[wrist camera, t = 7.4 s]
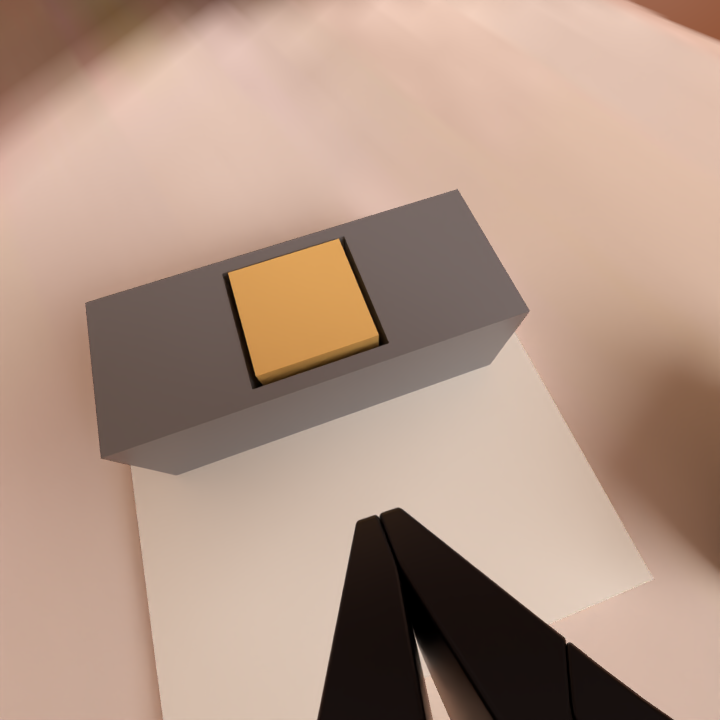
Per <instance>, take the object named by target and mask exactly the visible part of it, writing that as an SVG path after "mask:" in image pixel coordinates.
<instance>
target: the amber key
mask: <svg viewBox="0 0 720 720" xmlns="http://www.w3.org/2000/svg"><path fill="white" fill-rule="evenodd" d="M228 275H229V278H230V282H231V286H232V290H233V293H234V297H235V301H236V304H237V308H238V312H239V316H240V319H241V323H242V327H243V330H244V334H245V338H246V342H247V345H248V349H249V353H250V356H251V360H252V364H253V368H254V371H255V375H256V377H257V378H258V380H259V381H260V382H261V383H262V384H263V386H265V385H267V384H270V383H273V382H276V381H279V380H282V379H285V378H288V377H291V376H294V375H297V374H300V373H303V372H306V371H309V370H312V369H315V368H318V367H321V366H323V365H326V364H329V363H332V362H335V361H338V360H341V359H344V358H347V357H350V356H353V355H356V354H359V353H362V352H365V351H368V350H371V349H374V348H376V347H379V334H378V332H377V329H376V327H375V325H374V322H373V320H372V317H371V315H370V312H369V310H368V308H367V305H366V303H365V300H364V298H363V296H362V293H361V291H360V288H359V286H358V284H357V281H356V279H355V276H354V274H353V271H352V269H351V267H350V264H349V262H348V259H347V257H346V255H345V252H344V250H343V247H342V245H341V242H340V240H339V239H336V240H333V241H329V242H326V243H323V244H320V245H316V246H313V247H310V248H307V249H303V250H300V251H297V252H294V253H290V254H287V255H284V256H281V257H278V258H274V259H271V260H268V261H265V262H261V263H258V264H255V265H252V266H248V267H245V268H242V269H239V270H235V271H232V272H229V273H228Z"/></svg>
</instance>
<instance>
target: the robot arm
mask: <svg viewBox="0 0 720 720" xmlns="http://www.w3.org/2000/svg"><path fill="white" fill-rule="evenodd" d="M415 638H416V639H415ZM416 641H417V644H418V646H419V649H420V651H421V654H422V656H423V659H424V661H425V663H426V665H427V668H428V670H429V672H430V674H431V677H432V679H433V681H434V684H435V686H436V688H437V690H438V693H439V695H440V697H441V699H442V702H443V704H444V706H445V708H446V711H447V713H448V715H449V717H450V720H674V719H672V718H671V717H669V716H668V715H666V714H665V713H663V712H662V711H661V710H659V709H658V708H656V707H655V706H653V705H652V704H650V703H649V702H648V701H646V700H645V699H643V698H642V697H641V696H639V695H638V694H637V693H635V692H634V691H633V690H631V689H630V688H629V687H628V686H626V685H625V684H624V683H622V682H621V681H620V680H618V679H617V678H616V677H614V676H613V675H612V674H610V673H609V672H608V671H606V670H605V669H604V668H602V667H601V666H600V665H598V664H597V663H596V662H595V661H593V660H592V659H591V658H590V657H588V656H587V655H586V654H585V653H583V652H582V651H581V650H580V649H578V648H577V647H576V646H575V645H573V644H572V643H570V642H569V643H567V645H566V640H565V638H564V637H563V636H562V635H561V634H559V633H558V632H557V631H555V630H554V629H553V628H552V627H550V626H549V625H548V624H547V623H545V622H544V621H543V620H542V619H540V618H539V617H538V616H537V615H535V614H534V613H533V612H532V611H530V610H529V609H528V608H527V607H525V606H524V605H523V604H521V603H520V602H519V601H518V600H516V599H515V598H514V597H513V596H511V595H510V594H509V593H508V592H506V591H505V590H504V589H503V588H501V587H500V586H499V585H498V584H496V583H495V582H494V581H493V580H491V579H490V578H489V577H488V576H486V575H485V574H484V573H482V572H481V571H480V570H479V569H477V568H476V567H475V566H474V565H472V564H471V563H470V562H469V561H467V560H466V559H465V558H464V557H462V556H461V555H460V554H459V553H457V552H456V551H455V550H454V549H452V548H451V547H450V546H448V545H447V544H446V543H445V542H443V541H442V540H441V539H440V538H438V537H437V536H436V535H435V534H433V533H432V532H431V531H430V530H428V529H427V528H426V527H425V526H423V525H422V524H421V523H420V522H418V521H417V520H416V519H415V518H413V517H412V516H411V515H409V514H408V513H407V512H406V511H404V510H403V509H402V508H399V507H397V508H394V509H391V510H388V511H385V512H382V513H381V514H380V516H379V517H378V516H377V515H372V516H369V517H366V518H363V519H360V520H358V521H357V522H356V525H355V530H354V535H353V540H352V545H351V550H350V555H349V560H348V565H347V570H346V575H345V580H344V586H343V591H342V596H341V601H340V606H339V611H338V616H337V621H336V626H335V631H334V636H333V641H332V646H331V651H330V656H329V661H328V666H327V672H326V677H325V682H324V687H323V692H322V697H321V702H320V707H319V712H318V717H317V720H433V718H432V713H431V708H430V704H429V699H428V694H427V689H426V684H425V679H424V675H423V670H422V665H421V661H420V656H419V652H418V648H417V644H416Z"/></svg>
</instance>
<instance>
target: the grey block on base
mask: <svg viewBox="0 0 720 720" xmlns="http://www.w3.org/2000/svg"><path fill="white" fill-rule="evenodd" d="M336 239H339V240H340V242H341V245H342V247H343V250H344V252H345V255H346V257H347V259H348V262H349V264H350V267H351V269H352V271H353V274H354V276H355V279H356V281H357V284H358V286H359V288H360V291H361V293H362V296H363V298H364V300H365V303H366V305H367V308H368V310H369V312H370V315H371V317H372V320H373V322H374V325H375V327H376V329H377V332H378V334H379V347H376V348H374V349H371V350H368V351H365V352H362V353H359V354H356V355H353V356H350V357H347V358H344V359H341V360H338V361H335V362H332V363H329V364H326V365H323V366H321V367H318V368H315V369H312V370H309V371H306V372H303V373H300V374H297V375H294V376H291V377H288V378H285V379H282V380H279V381H276V382H273V383H270V384H267V385H265V386H263V384H262V383H261V382H260V381H259V380H258V378H257V377H256V375H255V371H254V368H253V364H252V360H251V356H250V353H249V349H248V345H247V342H246V338H245V334H244V330H243V327H242V323H241V319H240V316H239V312H238V308H237V304H236V301H235V297H234V293H233V290H232V286H231V282H230V278H229V275H228V273H229V272H232V271H235V270H239V269H242V268H245V267H248V266H252V265H255V264H258V263H261V262H265V261H268V260H271V259H274V258H278V257H281V256H284V255H287V254H290V253H294V252H297V251H300V250H303V249H307V248H310V247H313V246H316V245H320V244H323V243H326V242H329V241H333V240H336ZM85 304H86V314H87V324H88V334H89V344H90V354H91V364H92V374H93V384H94V394H95V403H96V413H97V423H98V433H99V443H100V453H101V459H106V460H110V461H115V462H119V463H123V464H128V465H130V466H131V474H132V482H133V490H134V497H135V505H136V513H137V521H138V529H139V536H140V544H141V552H142V560H143V568H144V576H145V583H146V591H147V599H148V607H149V615H150V622H151V630H152V638H153V646H154V654H155V661H156V669H157V677H158V685H159V693H160V701H161V708H162V716H163V720H317V717H318V712H319V707H320V702H321V697H322V692H323V687H324V682H325V677H326V672H327V666H328V661H329V656H330V651H331V646H332V641H333V636H334V631H335V626H336V621H337V616H338V611H339V606H340V601H341V596H342V591H343V586H344V580H345V575H346V570H347V565H348V560H349V555H350V550H351V545H352V540H353V535H354V530H355V525H356V522H357V521H358V520H360V519H363V518H366V517H369V516H372V515H377V516H378V517H379V516H380V514H381V513H382V512H385V511H388V510H391V509H394V508H397V507H399V508H402V509H403V510H404V511H406V512H407V513H408V514H409V515H411V516H412V517H413V518H415V519H416V520H417V521H418V522H420V523H421V524H422V525H423V526H425V527H426V528H427V529H428V530H430V531H431V532H432V533H433V534H435V535H436V536H437V537H438V538H440V539H441V540H442V541H443V542H445V543H446V544H447V545H448V546H450V547H451V548H452V549H454V550H455V551H456V552H457V553H459V554H460V555H461V556H462V557H464V558H465V559H466V560H467V561H469V562H470V563H471V564H472V565H474V566H475V567H476V568H477V569H479V570H480V571H481V572H482V573H484V574H485V575H486V576H488V577H489V578H490V579H491V580H493V581H494V582H495V583H496V584H498V585H499V586H500V587H501V588H503V589H504V590H505V591H506V592H508V593H509V594H510V595H511V596H513V597H514V598H515V599H516V600H518V601H519V602H520V603H521V604H523V605H524V606H525V607H527V608H528V609H529V610H530V611H532V612H533V613H534V614H535V615H537V616H538V617H539V618H540V619H542V620H543V621H544V622H545V623H547V624H548V625H549V624H552V623H554V622H556V621H559V620H561V619H563V618H566V617H568V616H570V615H573V614H575V613H577V612H580V611H582V610H584V609H587V608H589V607H591V606H594V605H596V604H598V603H600V602H603V601H605V600H607V599H610V598H612V597H614V596H617V595H619V594H621V593H624V592H626V591H628V590H631V589H633V588H635V587H638V586H640V585H642V584H645V583H647V582H649V581H652V580H654V578H653V576H652V575H651V573H650V571H649V569H648V568H647V566H646V564H645V562H644V560H643V559H642V557H641V555H640V553H639V552H638V550H637V548H636V546H635V544H634V543H633V541H632V539H631V537H630V536H629V534H628V532H627V530H626V528H625V527H624V525H623V523H622V521H621V520H620V518H619V516H618V514H617V512H616V511H615V509H614V507H613V505H612V504H611V502H610V500H609V498H608V496H607V495H606V493H605V491H604V489H603V488H602V486H601V484H600V482H599V480H598V479H597V477H596V475H595V473H594V472H593V470H592V468H591V466H590V464H589V463H588V461H587V459H586V457H585V456H584V454H583V452H582V450H581V448H580V447H579V445H578V443H577V441H576V440H575V438H574V436H573V434H572V432H571V431H570V429H569V427H568V425H567V424H566V422H565V420H564V418H563V417H562V415H561V413H560V411H559V409H558V408H557V406H556V404H555V402H554V401H553V399H552V397H551V395H550V393H549V392H548V390H547V388H546V386H545V385H544V383H543V381H542V379H541V377H540V376H539V374H538V372H537V370H536V369H535V367H534V365H533V363H532V361H531V360H530V358H529V356H528V354H527V353H526V351H525V349H524V347H523V345H522V344H521V342H520V340H519V338H518V337H517V335H516V333H515V330H516V329H517V328H518V326H519V325H520V324H521V322H522V321H523V320H524V318H525V317H526V316H527V314H528V313H529V309H528V307H527V306H526V304H525V302H524V301H523V299H522V297H521V295H520V294H519V292H518V290H517V289H516V287H515V285H514V284H513V282H512V280H511V279H510V277H509V275H508V273H507V272H506V270H505V268H504V267H503V265H502V263H501V262H500V260H499V258H498V257H497V255H496V253H495V252H494V250H493V248H492V246H491V245H490V243H489V241H488V240H487V238H486V236H485V235H484V233H483V231H482V230H481V228H480V226H479V225H478V223H477V221H476V219H475V218H474V216H473V214H472V213H471V211H470V209H469V208H468V206H467V204H466V203H465V201H464V199H463V198H462V196H461V194H460V192H459V191H458V189H457V190H453V191H450V192H447V193H444V194H440V195H437V196H434V197H430V198H427V199H424V200H421V201H417V202H414V203H411V204H408V205H404V206H401V207H398V208H394V209H391V210H388V211H385V212H381V213H378V214H375V215H371V216H368V217H365V218H362V219H358V220H355V221H352V222H349V223H345V224H342V225H339V226H335V227H332V228H329V229H326V230H322V231H319V232H316V233H313V234H309V235H306V236H303V237H299V238H296V239H293V240H290V241H286V242H283V243H280V244H277V245H273V246H270V247H267V248H263V249H260V250H257V251H254V252H250V253H247V254H244V255H240V256H237V257H234V258H231V259H227V260H224V261H221V262H218V263H214V264H211V265H208V266H204V267H201V268H198V269H195V270H191V271H188V272H185V273H182V274H178V275H175V276H172V277H168V278H165V279H162V280H159V281H155V282H152V283H149V284H145V285H142V286H139V287H136V288H132V289H129V290H126V291H123V292H119V293H116V294H113V295H109V296H106V297H103V298H100V299H96V300H93V301H90V302H87V303H85ZM415 639H416V638H415ZM416 644H417V641H416ZM417 648H418V652H419V656H420V661H421V665H422V670H423V675H424V678H426V677H428V676H430V675H431V674H430V672H429V670H428V668H427V665H426V663H425V661H424V659H423V656H422V654H421V651H420V649H419V646H418V644H417Z"/></svg>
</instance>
